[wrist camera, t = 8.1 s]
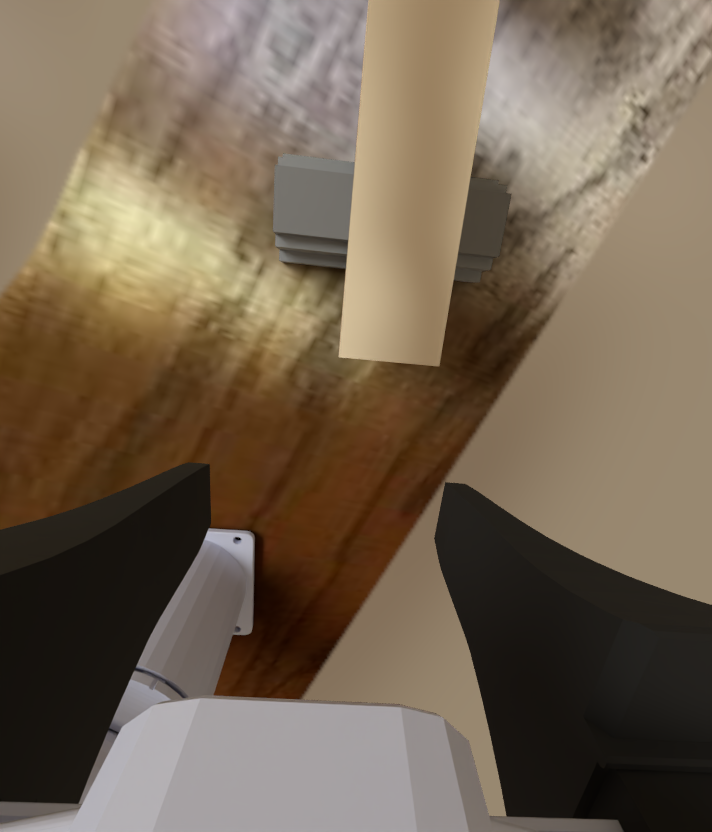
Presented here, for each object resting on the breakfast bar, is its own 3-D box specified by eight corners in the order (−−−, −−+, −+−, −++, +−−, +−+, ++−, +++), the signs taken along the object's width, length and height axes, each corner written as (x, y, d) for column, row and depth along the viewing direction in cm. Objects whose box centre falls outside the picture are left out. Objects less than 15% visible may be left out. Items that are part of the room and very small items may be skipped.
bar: (339, 341, 18) (338, 356, 13) (364, 51, 14) (375, -72, 10) (413, 348, 18) (439, 366, 13) (453, 63, 15) (508, -51, 10)
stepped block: (281, 262, 19) (272, 256, 16) (285, 159, 18) (275, 136, 15) (474, 282, 20) (494, 280, 17) (491, 185, 18) (516, 167, 16)
